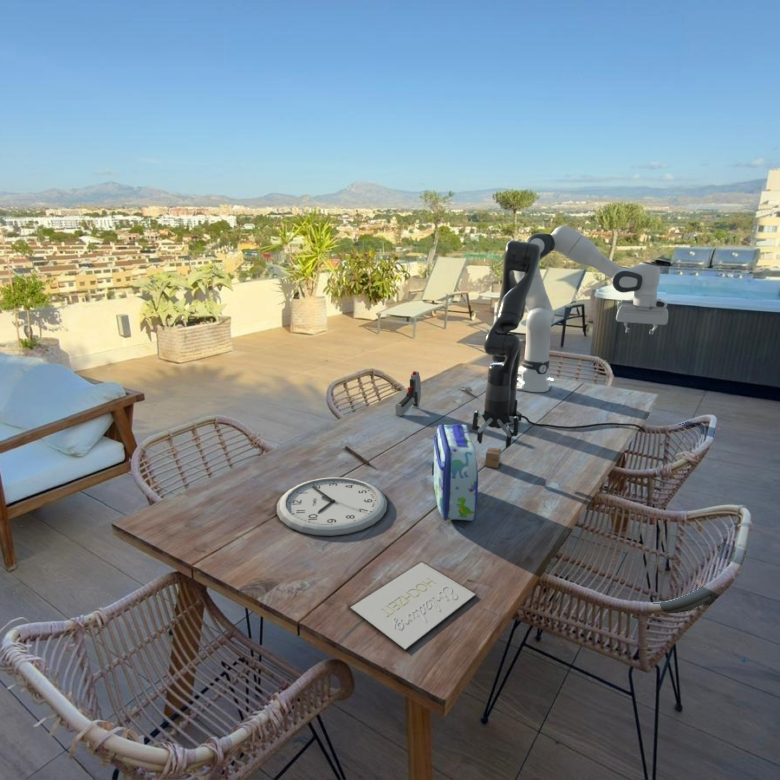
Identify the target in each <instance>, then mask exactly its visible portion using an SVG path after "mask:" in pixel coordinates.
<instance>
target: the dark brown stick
mask: <svg viewBox="0 0 780 780" xmlns="http://www.w3.org/2000/svg"><path fill="white" fill-rule="evenodd" d="M344 449H345V450H346V451H348V452H349V453H350V454H352V455H353V456H355V457H356V458H358V459H359V460H361V461H362V462H363V463H364V464H366V465H370V461H368V460H367V459H366V458H364V457H363V456H361V455H360V454H358V453H357V452H356V451H354V450H353V449H352V448H350V447H348V446H347V445H345V446H344Z"/></svg>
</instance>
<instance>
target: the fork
mask: <svg viewBox="0 0 780 780" xmlns="http://www.w3.org/2000/svg"><path fill="white" fill-rule="evenodd" d="M457 386H458V389H459V390H463V391H465V393H467V394H469V395H470V396H471V397H474V394H473V393H472V392H470V391H469V390H467V389H466V388H465V386H464V384H463V383H458V384H457Z"/></svg>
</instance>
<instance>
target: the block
mask: <svg viewBox="0 0 780 780" xmlns="http://www.w3.org/2000/svg"><path fill="white" fill-rule="evenodd" d="M501 455H502V449H501V448H496V447H491V446H488V447H487V450H486V452H485V463H484V466H485V467H487V468H494V469H498V468H499V466H500V463H501Z"/></svg>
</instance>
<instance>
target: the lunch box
mask: <svg viewBox="0 0 780 780" xmlns="http://www.w3.org/2000/svg"><path fill="white" fill-rule="evenodd" d="M476 453H477V452H476V448H475V446H474V443H473V439H472V438H471V434H470V429H469V427H468V425H467V424H462V423H453V424H439V425H437V429H436V434H435V435H434V437H433V461H432V465H431V476H433V489H434V494H435V500H436V505H437V510H438V512H439V515H440V517H441V518H442V519H443V521H447V520H459V521H471V522H472V521H474V520H476V519H475V518H476V515H477V511H478V510H477V509H478V495H479V468H478V467H479V465H478V459H477V454H476Z"/></svg>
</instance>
